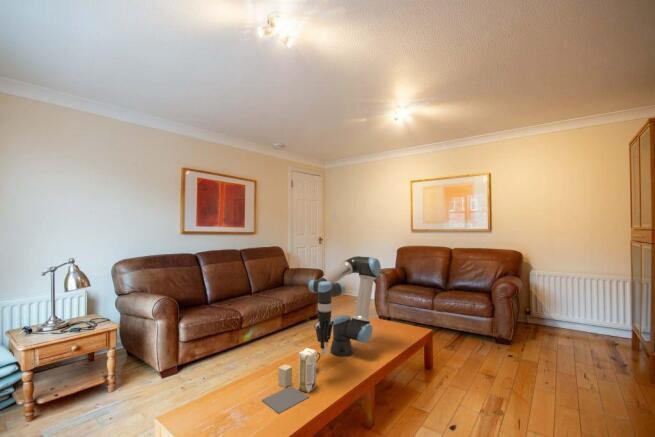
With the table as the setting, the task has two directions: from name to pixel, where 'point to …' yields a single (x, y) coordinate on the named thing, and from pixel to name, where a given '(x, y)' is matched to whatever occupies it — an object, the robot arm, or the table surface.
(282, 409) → the mat
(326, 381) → the table surface
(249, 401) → the table surface
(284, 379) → the sandstone block
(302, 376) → the juice carton
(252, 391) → the table surface
